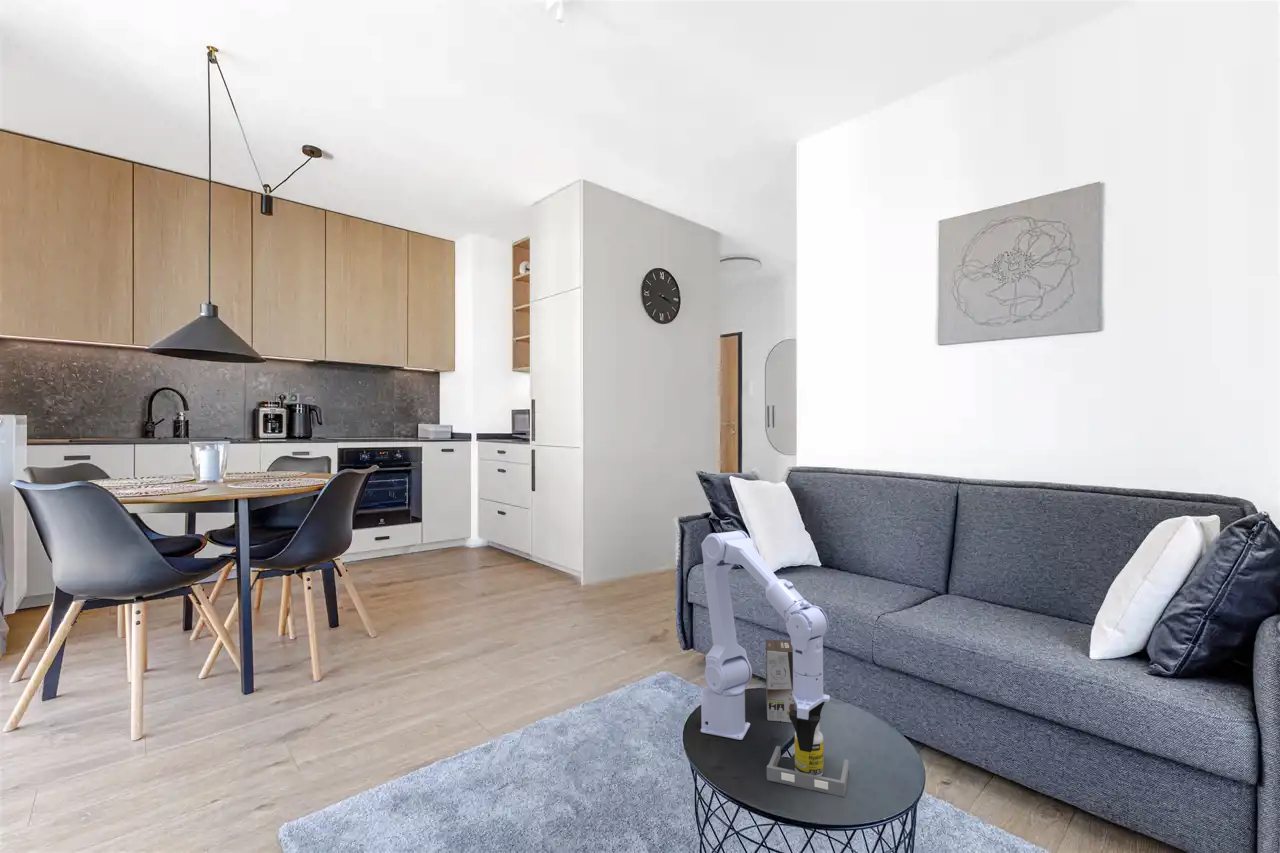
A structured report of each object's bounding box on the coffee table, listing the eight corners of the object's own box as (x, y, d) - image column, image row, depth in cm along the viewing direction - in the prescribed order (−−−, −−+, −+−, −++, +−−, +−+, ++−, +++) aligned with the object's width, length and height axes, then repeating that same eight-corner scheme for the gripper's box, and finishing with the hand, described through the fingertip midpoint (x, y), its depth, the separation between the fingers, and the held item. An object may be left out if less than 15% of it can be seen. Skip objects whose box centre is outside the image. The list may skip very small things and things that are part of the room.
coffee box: (795, 723, 136) (794, 652, 136) (766, 721, 137) (765, 650, 138) (793, 706, 145) (792, 639, 145) (766, 704, 146) (765, 638, 147)
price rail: (766, 780, 112) (766, 767, 112) (776, 755, 121) (776, 743, 121) (844, 797, 106) (844, 784, 107) (848, 770, 116) (848, 757, 116)
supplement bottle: (810, 782, 112) (809, 729, 112) (789, 769, 116) (788, 718, 117) (829, 774, 114) (828, 722, 115) (808, 761, 119) (807, 711, 119)
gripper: (824, 687, 108) (825, 763, 107) (833, 661, 121) (833, 729, 121) (785, 681, 111) (786, 755, 110) (797, 656, 124) (798, 722, 123)
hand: (808, 741), depth 116 cm, fingers open, 7 cm apart
